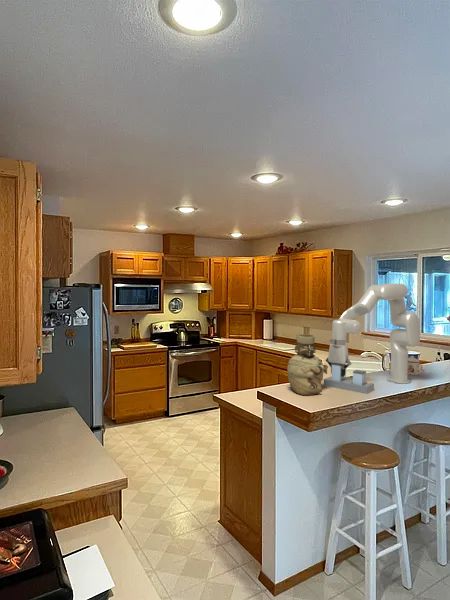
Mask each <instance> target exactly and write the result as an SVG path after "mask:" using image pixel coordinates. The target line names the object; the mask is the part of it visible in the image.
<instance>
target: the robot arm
mask: <svg viewBox="0 0 450 600" xmlns="http://www.w3.org/2000/svg"><path fill="white" fill-rule="evenodd" d="M408 293H409V290H408V287H407V285H405V284H404V283H390V282H389V283H383V284H371V286H369V287H368V288H367V290H365V292H364V294H363V295H362V297H361V298H360V299H359V300H358V302H357V303H355V304H354V305H352V306H350V307H349V308H348V309H346V310H345V311H344V312H343V313H342V315H340V317H339V318H338V319H334V320H333V321H332V325H331V326H332V328H331V330H332V331H331V339H329V342H330V343H331V344H330V345H329V349H328V355H327V356H328V357H327V358H326V359H325V362H326V363H327V365H328V366H329V367H330V375H331V376H332V363H337V364H342V369H341V377H343V376H344V377H346V369H347V368H348V367H350V366H351V365H352V362H351V360H350V358H349V349H348V345H347V334H358V333H359V332H360V331H361V329H362V325H361V322H359V321H358V320H356V319H357V318H358V317H360V316H363V315H367V314H369V313H370V312H371V311H373V309H374V308H375V306H376V304H378V302H379V301H380V300H381V301H387V302H388V304H389V313H390V323H391V324H392V325H393V326H394V327H398V328H393V329H392V330H391V331H390V332H389V343H390V365H389V366H390V370H389V371H390V372H389V376H388V377H386V378H387V379H386V381H388V382H391V383H394V384H410V382H411V380H410V379H409V378H408V374H407V373H408V358H409V350H408V347H412V348H413V347H417V346H419V344H420V341H421V329H420V325H421V324H420V318H419V316H418V315H417V313H416V312H413V311H407V308H406V307H407V306H406V302H405V299H404V298H405V297H406V296H407V295H408Z"/></svg>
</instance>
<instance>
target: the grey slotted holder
mask: <svg viewBox="0 0 450 600" xmlns="http://www.w3.org/2000/svg"><path fill="white" fill-rule="evenodd" d="M331 379H332V375H331V376H329V377H326V378H323V386H325V387H330V388H336V389H340V390H345V391H351V392H355V393H360V394H366V395H367V394H369V393H371V392H373V391H375V383H372V382H367V381H366V384H365V385H357V384H353V380H351V379H345V378H344V380H343V381H336V380H331Z"/></svg>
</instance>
